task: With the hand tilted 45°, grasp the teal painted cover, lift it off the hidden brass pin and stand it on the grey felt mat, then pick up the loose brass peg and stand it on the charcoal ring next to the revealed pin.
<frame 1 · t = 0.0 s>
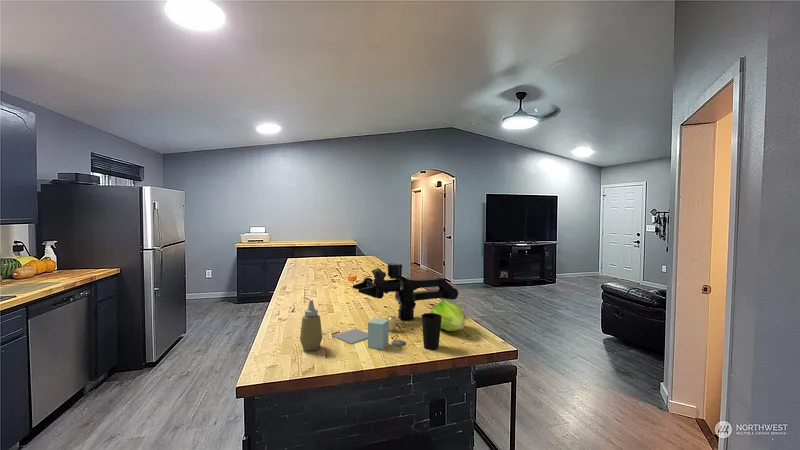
hand: (355, 288, 154), 17 cm above the worktop, tool horizontal, fingers open, 9 cm apart
squeeze bottle: (311, 348, 128), on the worktop
cup: (431, 347, 131), on the worktop
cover: (378, 345, 132), on the worktop
lettuce: (450, 332, 148), on the worktop
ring: (398, 343, 134), on the worktop
mat: (353, 336, 141), on the worktop
peg: (391, 331, 148), on the worktop
pin: (378, 345, 132), on the worktop
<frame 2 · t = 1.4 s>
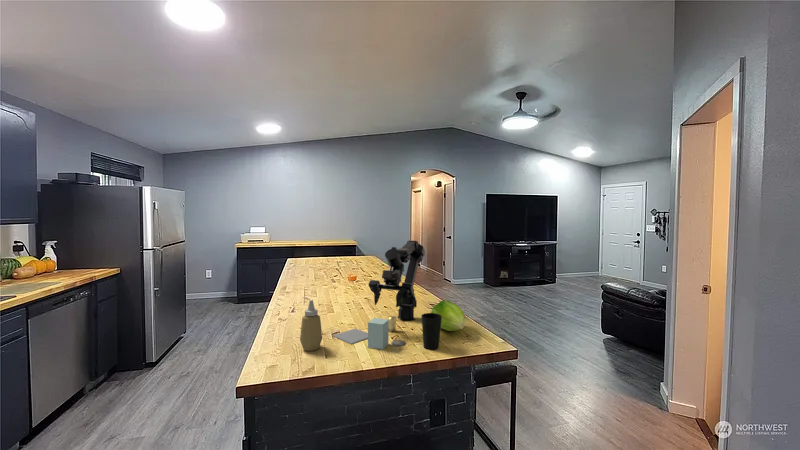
hand: (385, 305, 138), 13 cm above the worktop, tool tilted 45°, fingers open, 9 cm apart
nothing on the worktop moved.
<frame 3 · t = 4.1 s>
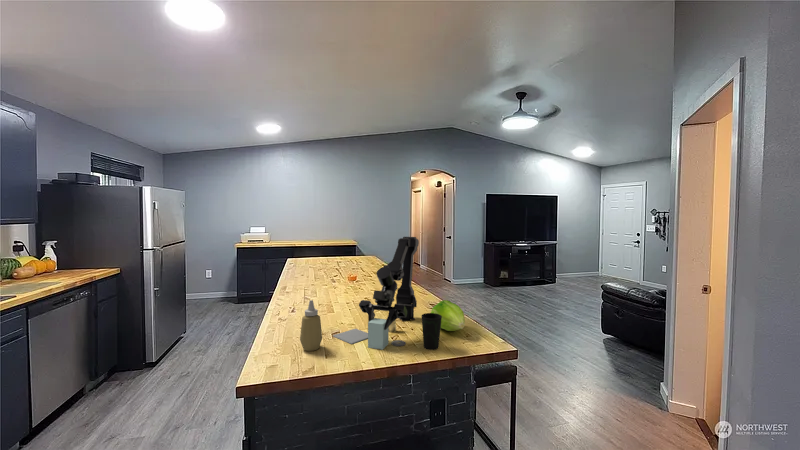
hand: (377, 328, 130), 7 cm above the worktop, tool tilted 45°, fingers closed on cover, 6 cm apart
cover: (378, 345, 132), on the worktop, touching gripper
everything else where it was.
when the fingers open (8 cm above the worktop, at t = 7.4 s): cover moves 1 cm, resting on mat.
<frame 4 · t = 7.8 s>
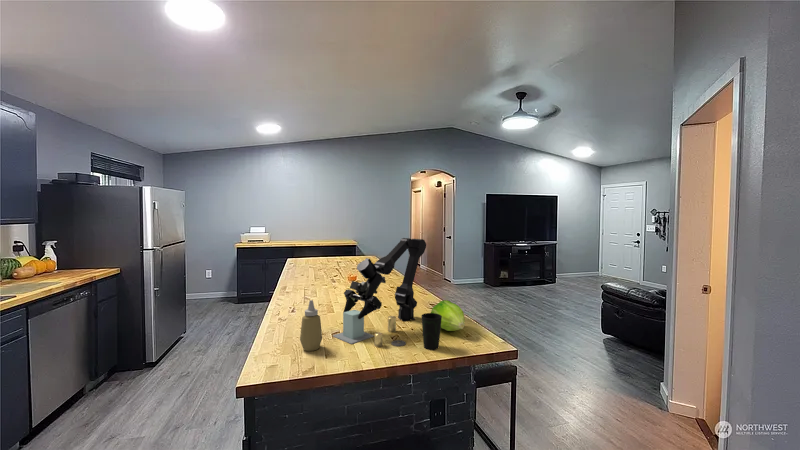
hand: (351, 316, 140), 9 cm above the worktop, tool tilted 45°, fingers open, 9 cm apart
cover: (353, 335, 141), resting on mat
everything else where it was.
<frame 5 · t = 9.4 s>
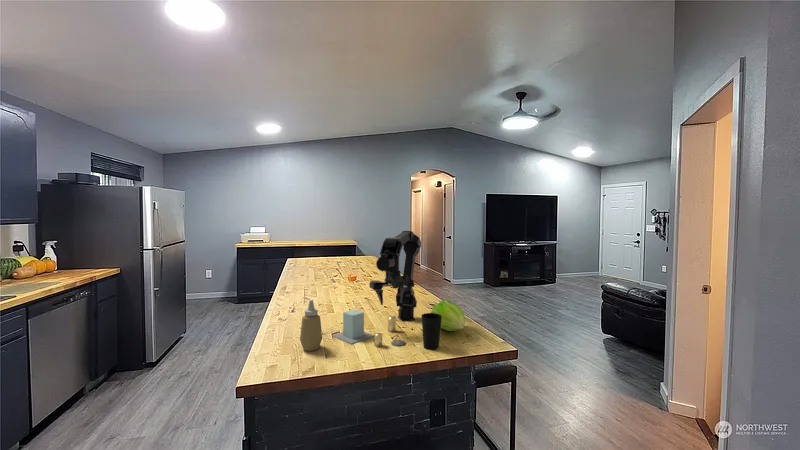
hand: (391, 303, 147), 12 cm above the worktop, tool pointing down, fingers open, 9 cm apart
nothing on the worktop moved.
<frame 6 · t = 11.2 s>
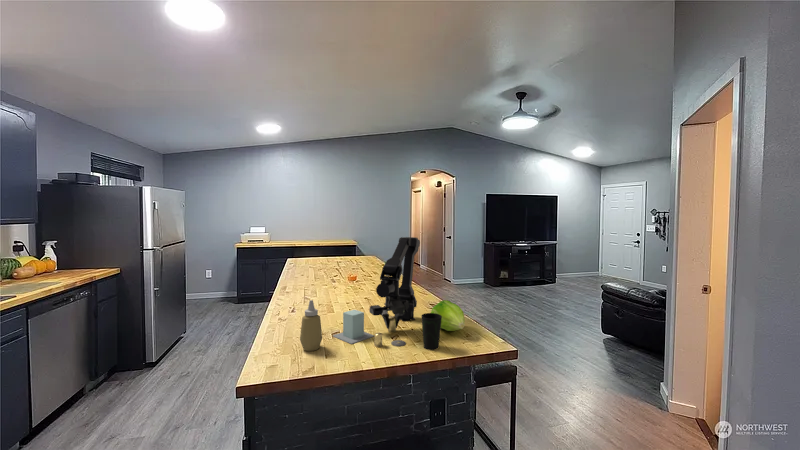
hand: (391, 328, 148), 1 cm above the worktop, tool pointing down, fingers closed on peg, 3 cm apart
peg: (391, 331, 148), on the worktop, touching gripper
everything else where it was.
when the fingers open (2 cm above the worktop, at t = 14.7 s): peg stays where it is, resting on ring.
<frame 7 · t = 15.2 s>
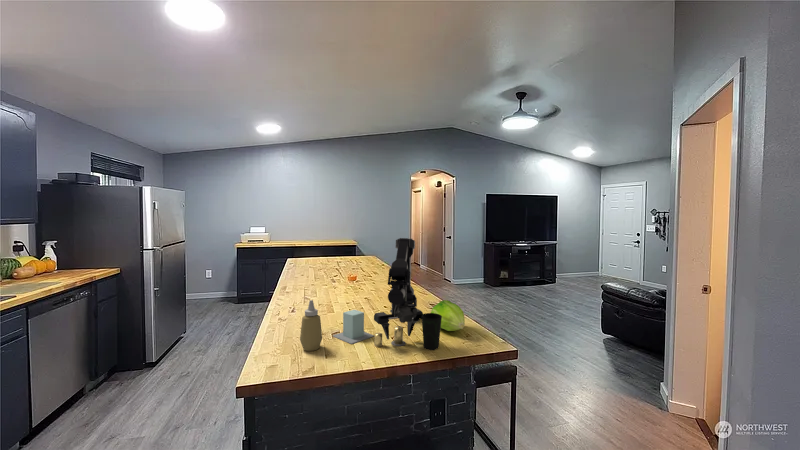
hand: (398, 337, 134), 2 cm above the worktop, tool pointing down, fingers open, 9 cm apart
peg: (398, 342, 134), resting on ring
everything else where it was.
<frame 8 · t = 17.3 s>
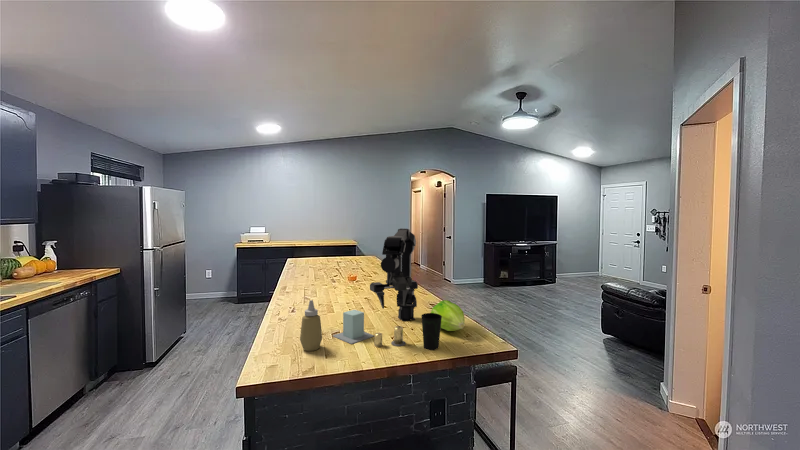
hand: (393, 307, 138), 13 cm above the worktop, tool pointing down, fingers open, 9 cm apart
nothing on the worktop moved.
at the end: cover 0.0 cm from the mat (horizontally); peg 0.0 cm from the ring (horizontally); peg tilted 0° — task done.
